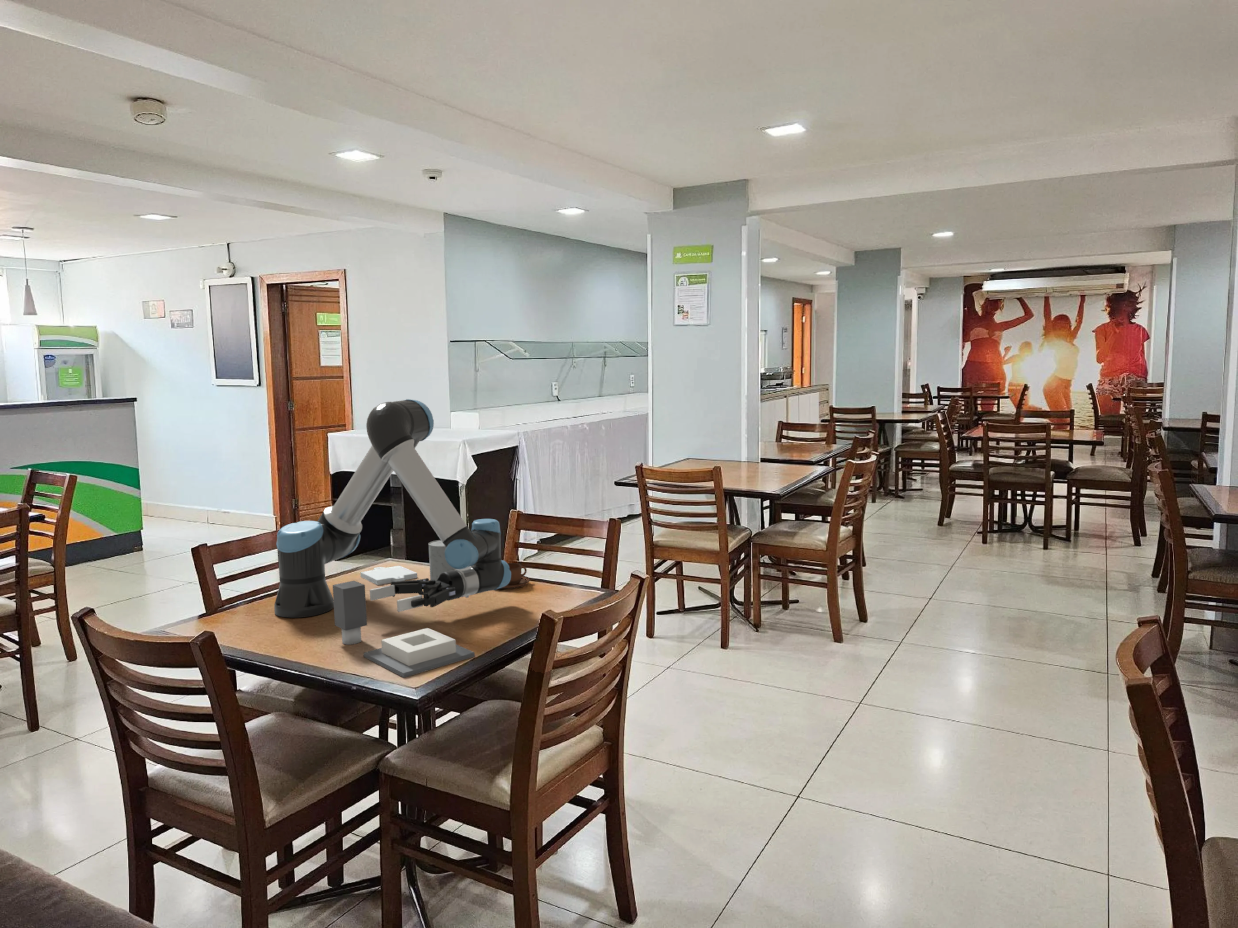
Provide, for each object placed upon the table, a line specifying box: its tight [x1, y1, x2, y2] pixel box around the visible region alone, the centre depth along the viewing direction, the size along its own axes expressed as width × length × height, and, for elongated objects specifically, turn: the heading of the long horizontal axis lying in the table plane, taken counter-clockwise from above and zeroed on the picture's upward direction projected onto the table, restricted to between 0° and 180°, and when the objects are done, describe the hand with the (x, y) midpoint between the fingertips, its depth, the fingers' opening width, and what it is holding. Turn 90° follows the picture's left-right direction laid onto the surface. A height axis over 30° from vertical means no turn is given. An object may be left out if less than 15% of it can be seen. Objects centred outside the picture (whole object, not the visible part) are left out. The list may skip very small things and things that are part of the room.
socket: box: [363, 627, 476, 678], centre depth 195 cm, size 18×18×4 cm
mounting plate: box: [359, 565, 418, 586], centre depth 266 cm, size 18×13×2 cm
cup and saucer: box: [500, 562, 530, 590], centre depth 254 cm, size 12×12×6 cm
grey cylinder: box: [428, 539, 456, 581], centre depth 258 cm, size 10×10×12 cm
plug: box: [332, 580, 368, 646], centre depth 205 cm, size 6×6×14 cm
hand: (383, 600), depth 211 cm, fingers open, 13 cm apart
